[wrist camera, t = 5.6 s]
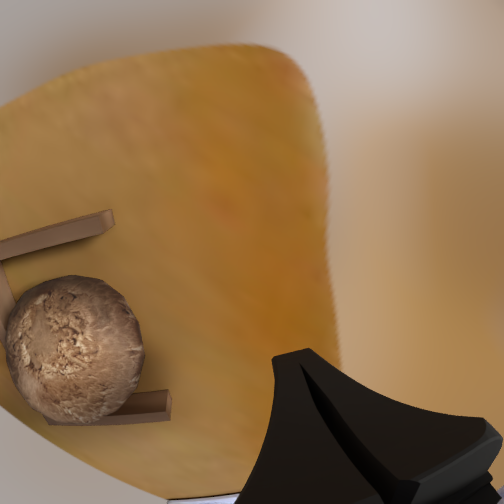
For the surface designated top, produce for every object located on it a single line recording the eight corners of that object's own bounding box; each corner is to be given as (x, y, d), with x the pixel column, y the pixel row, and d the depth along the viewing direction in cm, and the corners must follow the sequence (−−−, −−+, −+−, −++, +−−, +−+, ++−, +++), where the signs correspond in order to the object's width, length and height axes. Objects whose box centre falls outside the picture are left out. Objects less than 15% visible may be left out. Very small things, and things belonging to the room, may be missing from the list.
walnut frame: (172, 398, 18) (170, 420, 16) (57, 406, 17) (49, 424, 15) (111, 208, 15) (98, 215, 13) (-13, 245, 14) (-32, 254, 12)
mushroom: (131, 442, 15) (77, 469, 9) (36, 374, 16) (-30, 367, 10) (185, 325, 17) (148, 302, 12) (81, 270, 19) (25, 232, 13)
